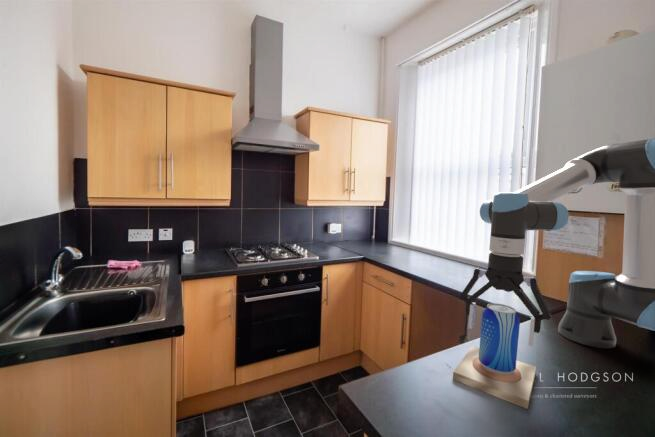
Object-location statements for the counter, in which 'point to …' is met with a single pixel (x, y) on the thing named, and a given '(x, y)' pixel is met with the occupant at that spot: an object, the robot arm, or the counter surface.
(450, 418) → the counter surface
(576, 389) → the counter surface
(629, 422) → the counter surface
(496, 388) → the birch board
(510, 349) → the beer can
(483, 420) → the counter surface
